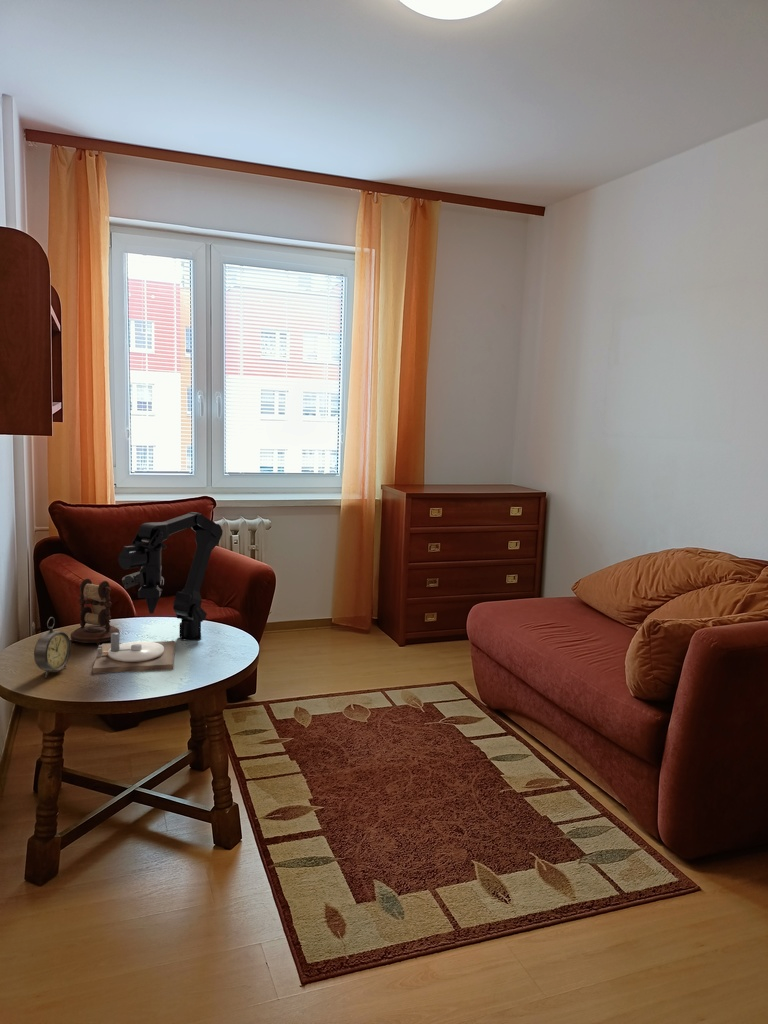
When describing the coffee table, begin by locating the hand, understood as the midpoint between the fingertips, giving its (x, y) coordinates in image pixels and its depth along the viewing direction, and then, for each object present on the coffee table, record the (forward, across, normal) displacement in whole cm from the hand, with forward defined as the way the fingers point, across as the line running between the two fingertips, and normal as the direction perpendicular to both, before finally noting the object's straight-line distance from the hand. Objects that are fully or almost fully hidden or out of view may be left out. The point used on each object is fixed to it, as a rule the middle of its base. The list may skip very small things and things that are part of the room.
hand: (151, 613), depth 224 cm
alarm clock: (+12, +17, -25) cm, 33 cm away
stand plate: (+12, +7, -4) cm, 14 cm away
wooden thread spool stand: (+12, -12, -18) cm, 25 cm away
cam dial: (+10, +7, -5) cm, 13 cm away
